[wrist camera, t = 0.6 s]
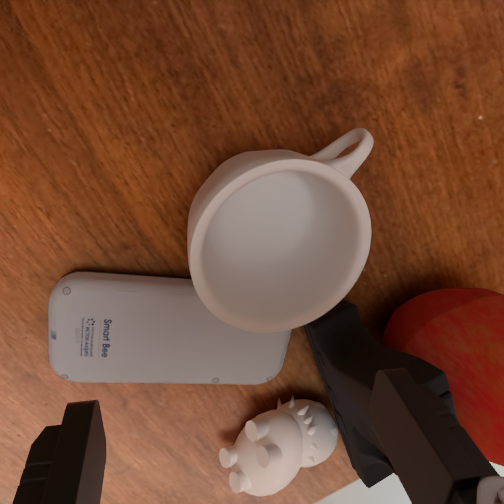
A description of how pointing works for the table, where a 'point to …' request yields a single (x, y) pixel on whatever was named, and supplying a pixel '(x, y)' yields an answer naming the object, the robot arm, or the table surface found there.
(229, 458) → the toy creature
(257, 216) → the teacup
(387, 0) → the table surface
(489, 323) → the apple
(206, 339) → the grey smart device
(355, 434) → the handgun
